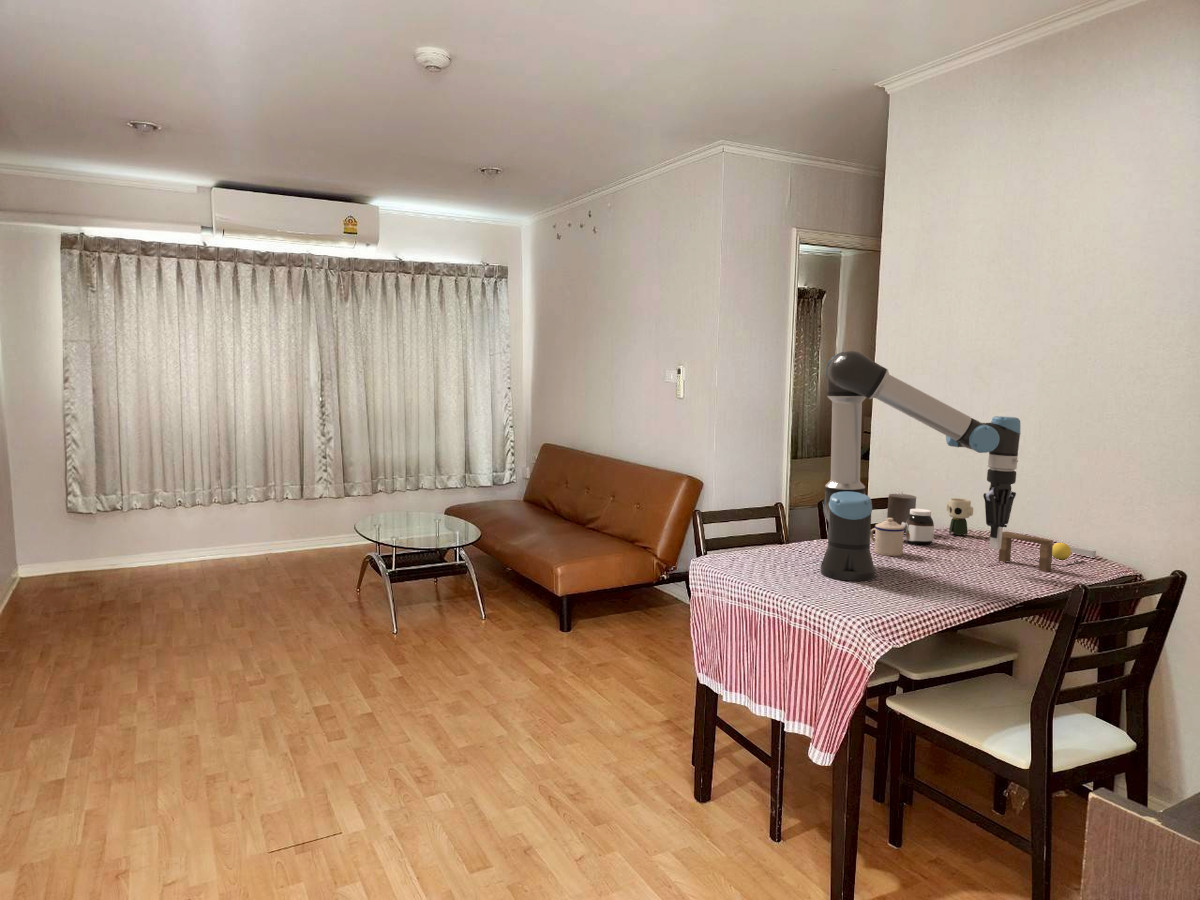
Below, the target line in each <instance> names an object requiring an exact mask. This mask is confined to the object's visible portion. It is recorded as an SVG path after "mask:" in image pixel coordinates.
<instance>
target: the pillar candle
mask: <svg viewBox="0 0 1200 900" xmlns="http://www.w3.org/2000/svg"><path fill="white" fill-rule="evenodd" d="M887 498H888V499H887V500H888V501H887V514H886V519H887V518H893V521H895V522H897V523H898V524H900V525H901V524H902V522H904V523H906V520H907V518H908V516H909V515H910V509H917V507H916V506H917V496H915V495H911V494H907V493H906V494H905V493H903V492H901V493H889V494H888V497H887ZM904 528H905V530H904V533H906V525H905V527H904Z"/></svg>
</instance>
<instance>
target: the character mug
mask: <svg viewBox="0 0 1200 900" xmlns="http://www.w3.org/2000/svg"><path fill="white" fill-rule="evenodd" d="M971 503H972V501H971V500H970V499H967V498H966V499H965V498H949V502H947V503H946V511H947V512H948V516H949V517H950V518H951V521H950V524H949V530H948V534H950V535H951V534H952V533H953V535H954V534H955V536H961V535H962V536H965V535H968V521H967V519H969V518H970V517H972V516H973V515H974V507H973V506H971V505H972V504H971ZM964 534H965V535H964Z"/></svg>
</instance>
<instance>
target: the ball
mask: <svg viewBox="0 0 1200 900" xmlns="http://www.w3.org/2000/svg"><path fill="white" fill-rule="evenodd" d="M1069 546H1070V545H1069ZM1069 546H1068V544H1067V543H1064V542H1056V543H1053V549H1052V556H1053V557H1054V558H1056V559H1059V560H1065V559H1067V558H1068V557H1069V558H1070V556H1072V555H1071V549H1070V547H1069Z"/></svg>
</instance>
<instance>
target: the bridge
mask: <svg viewBox="0 0 1200 900" xmlns="http://www.w3.org/2000/svg"><path fill="white" fill-rule="evenodd" d="M1012 540H1017V541H1024V542H1028V543H1034V544H1039V545H1040V546H1039V547H1040V548H1039V553H1040V559H1039V561H1038V562H1039V563H1038V571H1040V570H1041V571H1042V572H1049V571H1052V564H1051V563H1052V549H1053V545H1054V540H1053V539H1049V538H1043V537H1037V536H1031V535H1026V534H1021V533H1018V532H1017V533H1016V532H1012V531H1011V532H1010V531H1002V542H1001V549H998V551H999V552H998V562H1000V561H1003V562H1002V563H1004V562H1005V563H1007V562H1006V561H1010V562H1011V556H1012V555H1011V554H1012V553H1011V552H1012V543H1013V542H1012Z"/></svg>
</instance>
